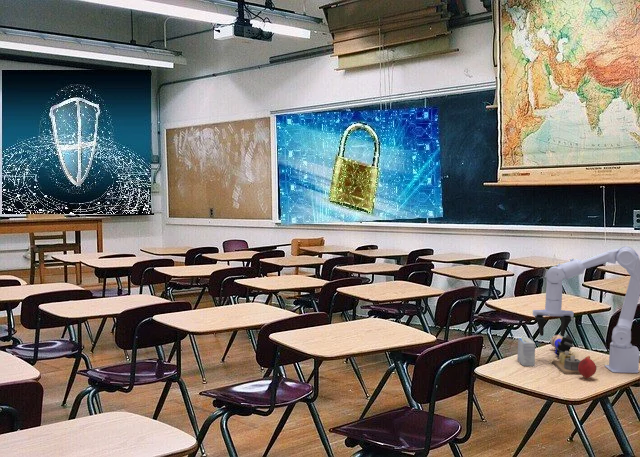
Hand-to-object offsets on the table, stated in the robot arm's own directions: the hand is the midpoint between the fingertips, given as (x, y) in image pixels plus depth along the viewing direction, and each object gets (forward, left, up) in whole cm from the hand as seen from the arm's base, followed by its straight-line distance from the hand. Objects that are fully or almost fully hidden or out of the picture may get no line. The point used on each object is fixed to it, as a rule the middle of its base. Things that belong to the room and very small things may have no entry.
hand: (551, 335), depth 274 cm
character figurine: (-8, -11, -10) cm, 17 cm away
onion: (-6, +21, -10) cm, 24 cm away
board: (-5, +9, -10) cm, 14 cm away
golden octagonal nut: (-4, +6, -9) cm, 11 cm away
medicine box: (+10, +3, -10) cm, 15 cm away
